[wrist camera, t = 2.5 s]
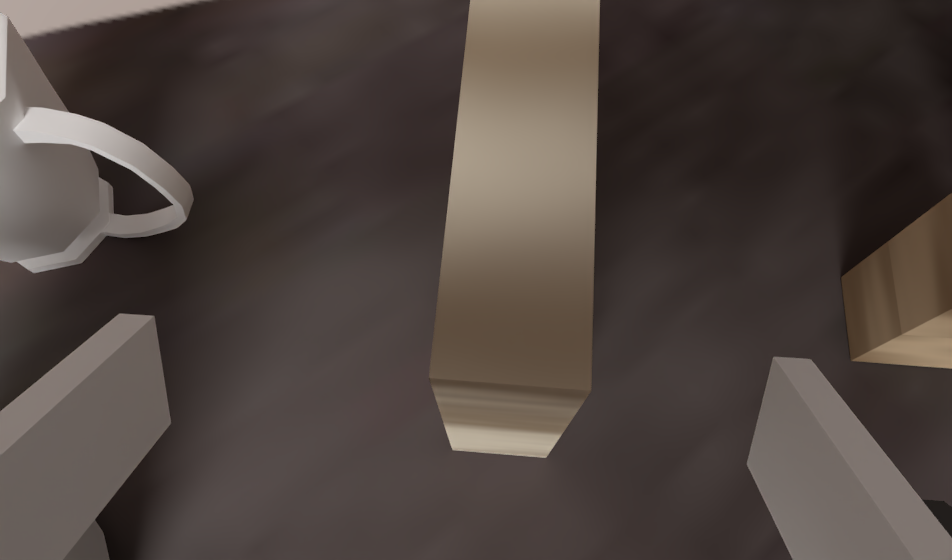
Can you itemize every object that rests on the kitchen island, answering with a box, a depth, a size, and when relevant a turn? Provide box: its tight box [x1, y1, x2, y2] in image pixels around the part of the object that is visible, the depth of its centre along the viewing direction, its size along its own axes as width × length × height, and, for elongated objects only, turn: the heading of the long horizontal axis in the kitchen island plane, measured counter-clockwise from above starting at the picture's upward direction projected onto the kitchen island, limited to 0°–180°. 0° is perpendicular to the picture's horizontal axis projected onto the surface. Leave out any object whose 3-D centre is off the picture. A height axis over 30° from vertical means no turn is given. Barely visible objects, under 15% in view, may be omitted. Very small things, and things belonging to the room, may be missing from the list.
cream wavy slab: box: [429, 0, 600, 458], centre depth 19 cm, size 12×3×10 cm, turn 176°
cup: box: [0, 12, 194, 273], centre depth 21 cm, size 7×10×8 cm
